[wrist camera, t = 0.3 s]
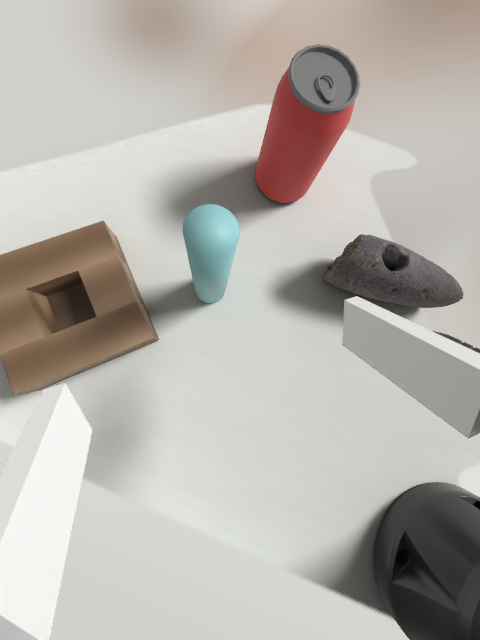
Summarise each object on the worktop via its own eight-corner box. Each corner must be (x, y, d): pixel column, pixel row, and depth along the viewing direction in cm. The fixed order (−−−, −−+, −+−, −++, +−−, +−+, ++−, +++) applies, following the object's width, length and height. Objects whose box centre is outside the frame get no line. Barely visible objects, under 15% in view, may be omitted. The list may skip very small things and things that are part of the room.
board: (158, 339, 28) (151, 338, 24) (40, 389, 26) (14, 395, 22) (116, 236, 28) (103, 220, 25) (-2, 277, 27) (-34, 266, 23)
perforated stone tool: (435, 286, 32) (496, 268, 25) (427, 327, 32) (488, 320, 25) (321, 245, 31) (353, 215, 24) (310, 286, 30) (339, 267, 24)
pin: (229, 296, 29) (248, 245, 15) (202, 307, 29) (196, 265, 15) (217, 270, 29) (226, 196, 15) (190, 281, 29) (174, 214, 15)
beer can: (259, 208, 31) (292, 118, 19) (249, 156, 31) (274, 38, 20) (313, 202, 32) (376, 113, 20) (302, 152, 32) (356, 36, 20)
